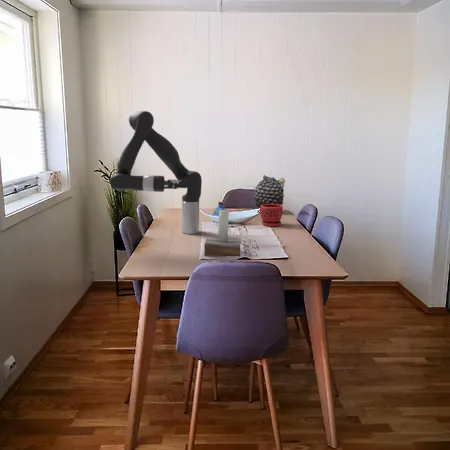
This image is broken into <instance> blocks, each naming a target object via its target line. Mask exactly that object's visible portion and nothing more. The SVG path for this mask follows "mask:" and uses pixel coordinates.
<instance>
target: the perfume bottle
mask: <svg viewBox="0 0 450 450" xmlns="http://www.w3.org/2000/svg"><path fill="white" fill-rule="evenodd" d="M217 203H218V204H217V207H216V208H215V209H214V210H213V216H214V215H217V216H219V211H220V210H226V211H228V210H227V208H226V207H224V206H225V205H224V201H218V202H217ZM212 222H213V223H217V222H215V221H212ZM217 224H218V223H217Z"/></svg>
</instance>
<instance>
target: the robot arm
mask: <svg viewBox="0 0 450 450" xmlns="http://www.w3.org/2000/svg"><path fill="white" fill-rule="evenodd" d="M154 120H155V119H154V116H153V114H152V113H151V112H149V111H147V110H137V111H133V112H131V113H130V114H129V116H128V123H129V126H130V127H131V128H132V129H133V130H134V133H133V136H131V138H130V140H129V142H128V143H127V144H126V145H125V147H124V149H123V150H122V153H121V155H120V156H119V159H118V162H117V171H116V173H115V174H113V175H111V177H110V178H109V184H110V186H111V187H112V188H113V189H114V190H116V191H117V192H123V191H125V190H132V191H141V192H154V193H155V192H158V193H160V192H161V193H162V192H164V191H165V189H168V190H170V189H171V190H174V189H175V190H178V189H186V193H185V194H183V195H182V197H181V200H182V201H181V213H182V214H181V234H182V233H183V234H186V235H196V234H199V233H200V199H201V195H202V186H203V185H202V181H203V180H202V175H201V174H200V172H198V171H193V170H189V169H188V168H187V167H185V165H184V164H183V163H182V162H181V159H180V154H179V152H178V150H177V149H176V147H175V146H174V145H173V144H172V143H171V141H170V140H168V139H167V138H166V137H165V136H163V135H162V134H160V133H159V132H158V131H156V130H155V129H154V128H153V126H154ZM144 142H146V143H147V145H148V146H149V148H150V149H151V150H152V151H153V152H154V153H155V155H156V156H158V158H159V159H160V160H161V162H162V163H164V165H165V166H166V167H167V168H168V169H169V170H170V171H171V172H172V174H173V175H174V177H175V178H176V179H167V180H165V176H164V175H131V174H132V170H133V167H134V165H135V163H136V159H137V157H138V155H139V152H140V151H141V148H142V146H143V144H144Z"/></svg>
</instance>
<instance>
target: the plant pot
mask: <svg viewBox="0 0 450 450" xmlns="http://www.w3.org/2000/svg"><path fill="white" fill-rule="evenodd" d="M283 210H284V208H283V204H282V205H278V204H264V205H261V206H260V212H259V213H260V217H261V220H262V221H261V224H262V226H265V227H279V226H280V225H282V221H281V219H282V216H283V212H284V211H283ZM267 211H268V212H269V213H267Z"/></svg>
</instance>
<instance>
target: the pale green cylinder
mask: <svg viewBox="0 0 450 450" xmlns="http://www.w3.org/2000/svg"><path fill="white" fill-rule="evenodd" d="M226 210H227V209H226ZM226 210H220V211H219V223H218V227H217V228H218V230H217V231H218V232H217V238H218V242H227V241H228V238H229V237H228V236H229V210H227V211H226Z"/></svg>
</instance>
